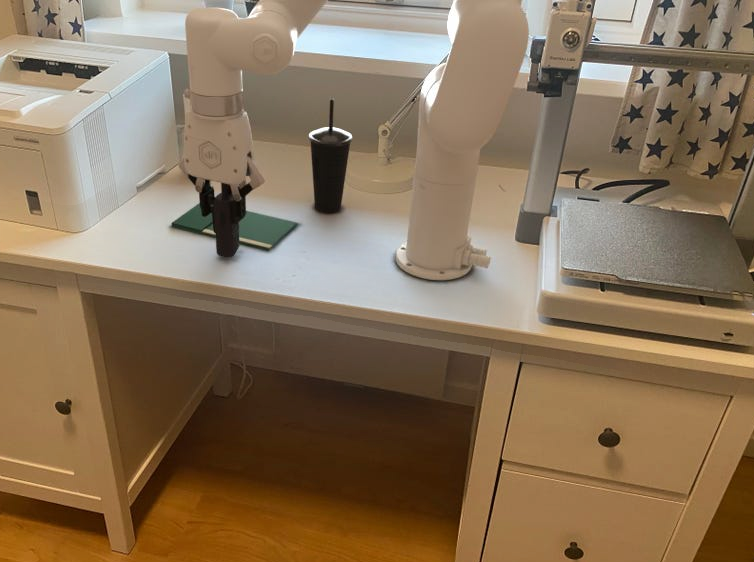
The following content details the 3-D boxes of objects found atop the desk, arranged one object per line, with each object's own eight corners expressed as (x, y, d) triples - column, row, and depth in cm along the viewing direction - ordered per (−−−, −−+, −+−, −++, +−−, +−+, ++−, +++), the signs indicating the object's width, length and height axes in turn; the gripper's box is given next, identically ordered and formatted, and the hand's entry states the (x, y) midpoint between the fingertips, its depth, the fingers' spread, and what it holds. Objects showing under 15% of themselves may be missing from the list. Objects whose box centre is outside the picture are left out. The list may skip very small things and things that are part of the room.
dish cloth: (297, 224, 134) (297, 220, 134) (268, 250, 126) (268, 246, 126) (204, 203, 140) (204, 199, 140) (171, 226, 132) (171, 222, 131)
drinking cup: (344, 219, 137) (349, 108, 125) (303, 213, 138) (304, 103, 126) (351, 201, 143) (357, 95, 131) (312, 197, 144) (315, 90, 132)
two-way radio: (233, 261, 122) (229, 172, 113) (206, 258, 122) (200, 169, 113) (242, 245, 126) (238, 159, 117) (216, 242, 127) (211, 156, 118)
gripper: (152, 99, 109) (164, 215, 120) (256, 119, 104) (259, 238, 115) (181, 86, 115) (190, 197, 126) (280, 104, 110) (281, 218, 121)
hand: (223, 215), depth 120 cm, fingers closed on two-way radio, 4 cm apart
